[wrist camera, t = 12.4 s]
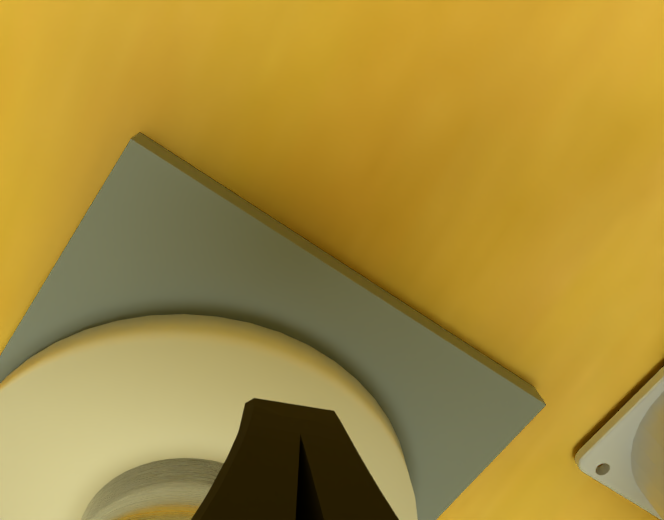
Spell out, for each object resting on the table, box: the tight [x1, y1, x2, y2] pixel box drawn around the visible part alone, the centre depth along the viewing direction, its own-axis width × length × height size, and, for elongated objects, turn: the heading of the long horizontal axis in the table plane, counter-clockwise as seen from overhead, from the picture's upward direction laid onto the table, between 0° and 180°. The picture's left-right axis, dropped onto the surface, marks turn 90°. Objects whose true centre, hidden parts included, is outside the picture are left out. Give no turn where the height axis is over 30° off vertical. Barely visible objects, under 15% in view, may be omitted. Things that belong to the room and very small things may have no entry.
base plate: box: [0, 132, 546, 520], centre depth 20 cm, size 15×19×1 cm
